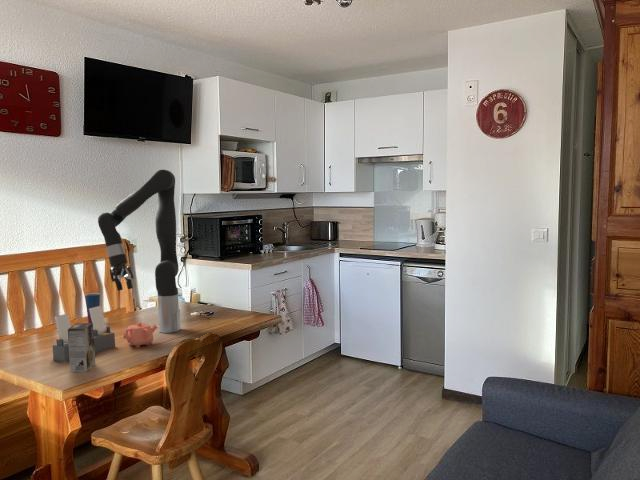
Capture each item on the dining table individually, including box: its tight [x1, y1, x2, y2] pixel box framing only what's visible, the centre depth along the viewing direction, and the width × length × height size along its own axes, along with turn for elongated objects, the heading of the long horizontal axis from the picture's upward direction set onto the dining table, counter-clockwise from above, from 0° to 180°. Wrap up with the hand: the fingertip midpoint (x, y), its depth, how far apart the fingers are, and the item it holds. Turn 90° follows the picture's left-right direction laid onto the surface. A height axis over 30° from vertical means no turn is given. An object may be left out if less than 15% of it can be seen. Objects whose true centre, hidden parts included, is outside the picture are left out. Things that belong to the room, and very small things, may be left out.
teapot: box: [123, 321, 158, 349], centre depth 231 cm, size 12×12×10 cm
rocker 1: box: [54, 313, 72, 344], centre depth 213 cm, size 2×5×11 cm, turn 151°
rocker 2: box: [89, 305, 107, 334], centre depth 227 cm, size 2×5×11 cm, turn 152°
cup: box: [84, 292, 101, 323], centre depth 270 cm, size 7×7×15 cm
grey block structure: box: [52, 325, 116, 363], centre depth 220 cm, size 7×24×8 cm, turn 152°
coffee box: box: [68, 322, 96, 373], centre depth 200 cm, size 9×6×16 cm
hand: (125, 289), depth 245 cm, fingers open, 8 cm apart
